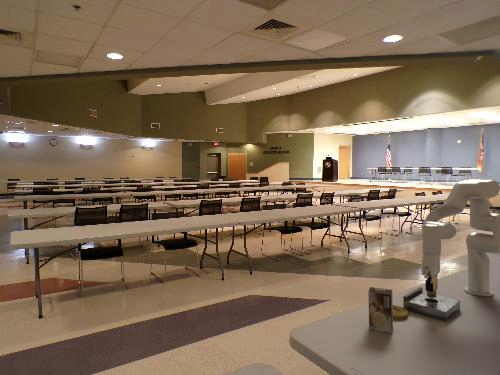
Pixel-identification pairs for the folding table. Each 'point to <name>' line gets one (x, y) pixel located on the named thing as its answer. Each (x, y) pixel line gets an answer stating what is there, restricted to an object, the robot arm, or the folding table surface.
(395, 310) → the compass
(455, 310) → the jig
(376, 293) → the coffee box
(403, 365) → the folding table surface
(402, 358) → the folding table surface
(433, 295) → the brass cylinder
